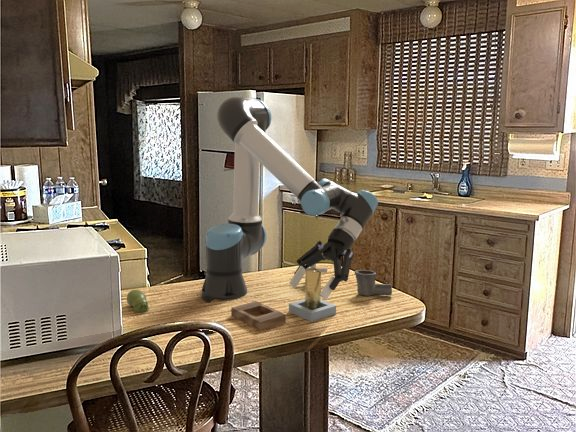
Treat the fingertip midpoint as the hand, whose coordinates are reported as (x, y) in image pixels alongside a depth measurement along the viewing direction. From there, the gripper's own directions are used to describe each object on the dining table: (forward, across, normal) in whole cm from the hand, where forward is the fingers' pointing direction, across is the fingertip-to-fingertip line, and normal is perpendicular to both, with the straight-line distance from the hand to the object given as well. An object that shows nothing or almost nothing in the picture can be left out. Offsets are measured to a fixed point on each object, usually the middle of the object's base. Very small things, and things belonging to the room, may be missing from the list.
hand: (306, 291), depth 159 cm
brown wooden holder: (+16, -6, -4) cm, 17 cm away
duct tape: (+27, -8, -14) cm, 31 cm away
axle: (+3, 0, +7) cm, 7 cm away
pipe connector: (-11, -24, +24) cm, 35 cm away
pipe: (-17, -2, +29) cm, 34 cm away
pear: (+31, -39, -18) cm, 53 cm away
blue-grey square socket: (+4, 0, +8) cm, 9 cm away
